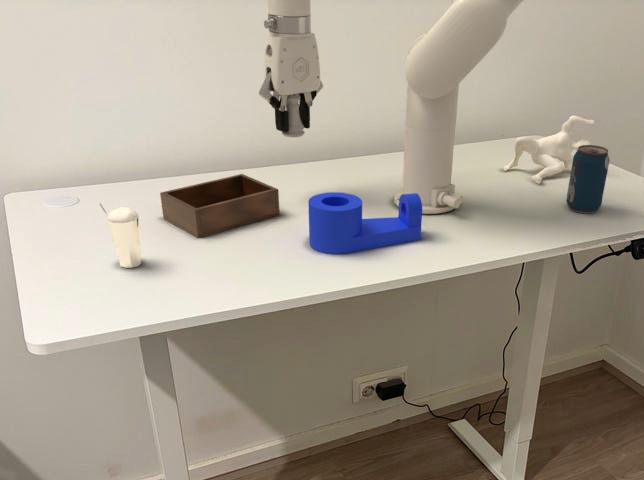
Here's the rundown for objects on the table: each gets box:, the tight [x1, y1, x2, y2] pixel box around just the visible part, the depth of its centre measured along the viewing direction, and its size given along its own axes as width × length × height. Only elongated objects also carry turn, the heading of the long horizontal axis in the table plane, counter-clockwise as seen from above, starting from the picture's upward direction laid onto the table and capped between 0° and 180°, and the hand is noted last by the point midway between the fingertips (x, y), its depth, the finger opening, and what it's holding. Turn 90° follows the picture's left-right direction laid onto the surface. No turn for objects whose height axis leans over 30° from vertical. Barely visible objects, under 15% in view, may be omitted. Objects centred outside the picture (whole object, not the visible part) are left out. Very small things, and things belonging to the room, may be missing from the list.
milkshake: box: [99, 203, 142, 269], centre depth 114 cm, size 4×5×10 cm
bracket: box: [307, 191, 423, 255], centre depth 127 cm, size 20×9×8 cm, turn 111°
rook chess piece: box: [281, 93, 305, 138], centre depth 139 cm, size 4×4×8 cm
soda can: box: [565, 144, 610, 214], centre depth 145 cm, size 7×7×12 cm
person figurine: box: [503, 115, 595, 185], centre depth 165 cm, size 13×13×18 cm
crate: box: [159, 173, 281, 239], centre depth 135 cm, size 18×12×5 cm, turn 135°
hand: (293, 127), depth 141 cm, fingers closed on rook chess piece, 4 cm apart
